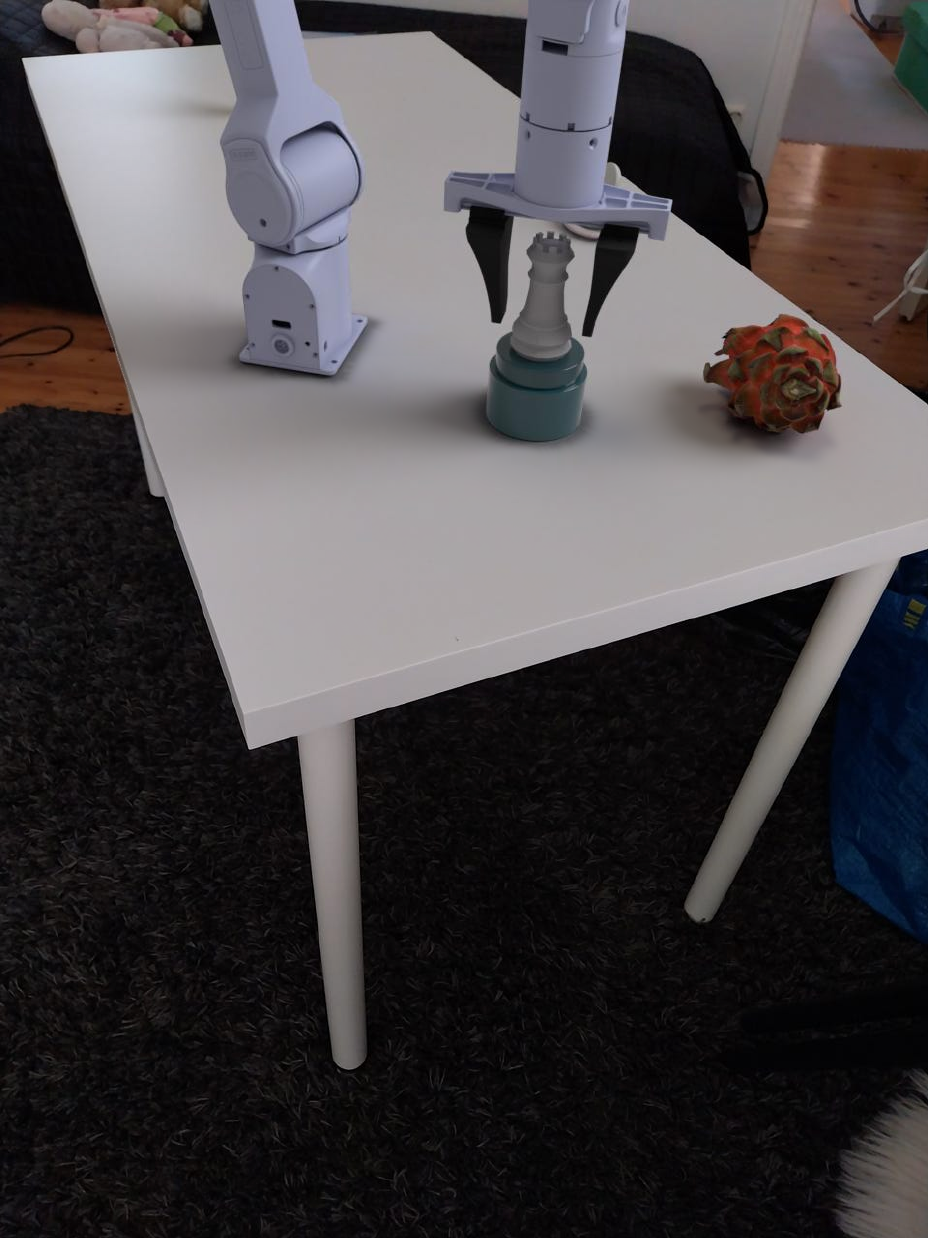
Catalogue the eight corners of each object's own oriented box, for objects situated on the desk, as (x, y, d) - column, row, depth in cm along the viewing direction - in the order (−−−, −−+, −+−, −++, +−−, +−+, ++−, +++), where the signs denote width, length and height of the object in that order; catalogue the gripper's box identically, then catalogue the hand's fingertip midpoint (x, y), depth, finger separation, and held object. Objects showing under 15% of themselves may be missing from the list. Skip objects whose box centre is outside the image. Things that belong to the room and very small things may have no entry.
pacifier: (585, 248, 95) (636, 237, 97) (592, 183, 91) (646, 173, 93) (549, 219, 100) (599, 210, 102) (554, 156, 95) (606, 147, 97)
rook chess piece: (566, 368, 68) (581, 257, 62) (504, 359, 68) (513, 248, 62) (574, 337, 71) (589, 229, 65) (514, 329, 71) (524, 221, 66)
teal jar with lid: (573, 448, 70) (583, 381, 66) (477, 432, 71) (481, 365, 67) (586, 397, 75) (596, 332, 71) (496, 383, 76) (501, 318, 72)
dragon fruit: (797, 483, 71) (709, 418, 80) (890, 405, 70) (791, 348, 79) (755, 407, 65) (666, 346, 75) (856, 321, 64) (753, 270, 73)
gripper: (689, 109, 60) (650, 312, 70) (464, 83, 62) (456, 284, 72) (682, 147, 55) (641, 359, 65) (438, 117, 57) (433, 328, 67)
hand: (543, 323), depth 68 cm, fingers open, 6 cm apart
